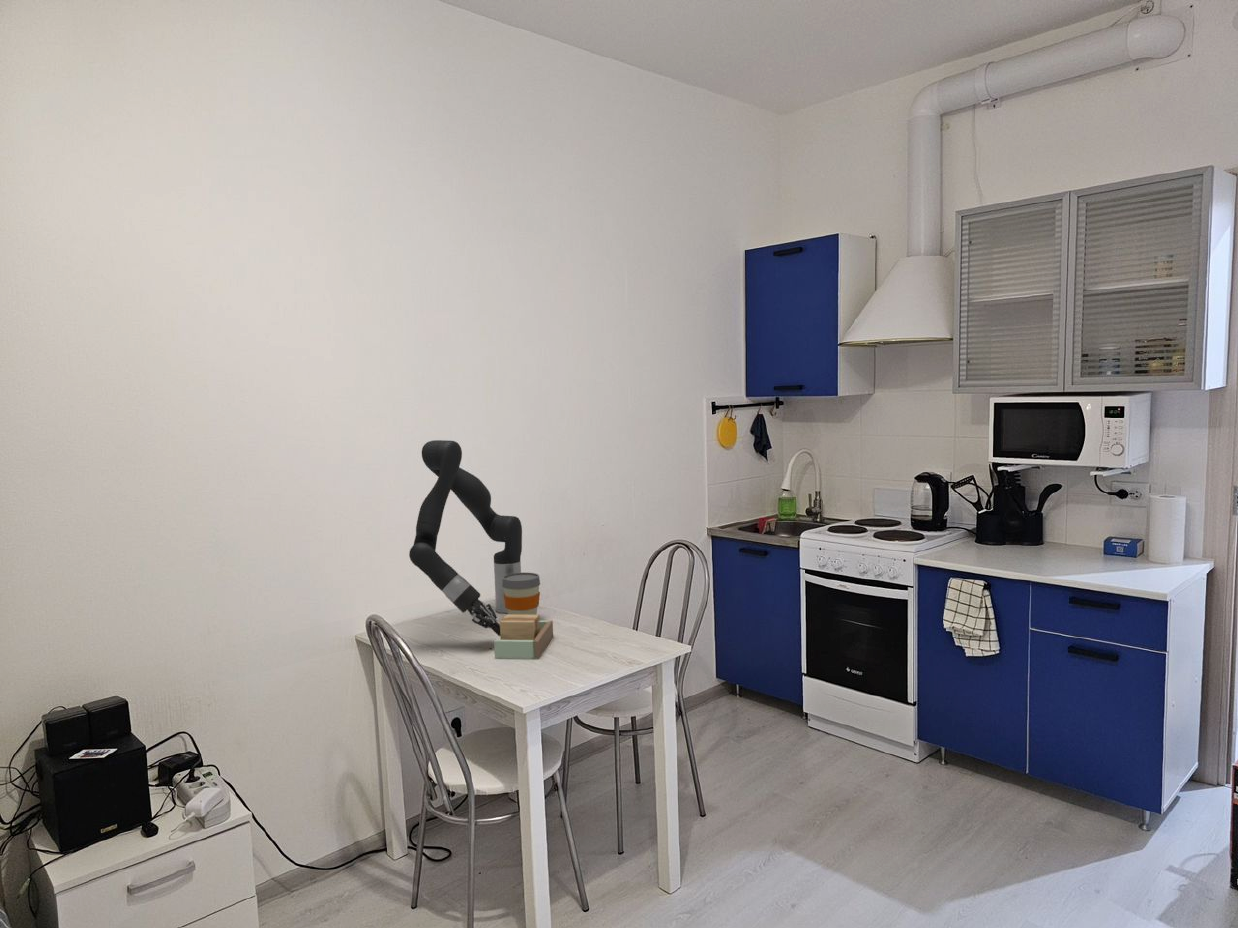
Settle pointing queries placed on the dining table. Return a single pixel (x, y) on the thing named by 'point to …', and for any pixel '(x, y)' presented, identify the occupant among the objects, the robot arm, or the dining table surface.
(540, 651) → the bay
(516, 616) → the oak block
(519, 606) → the reusable coffee cup
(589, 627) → the dining table surface
